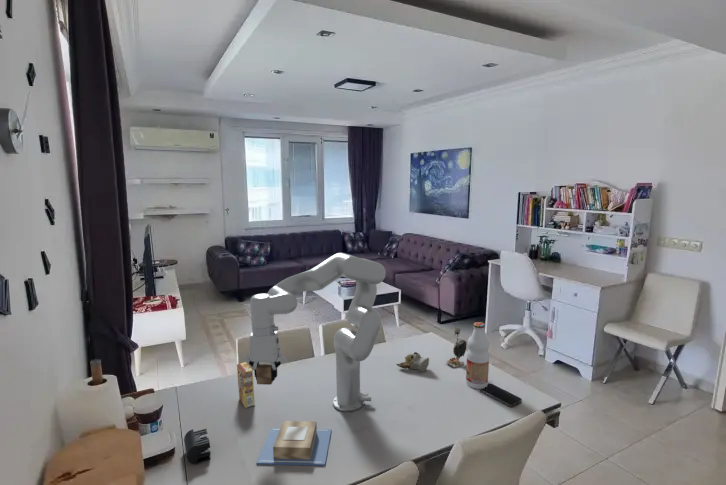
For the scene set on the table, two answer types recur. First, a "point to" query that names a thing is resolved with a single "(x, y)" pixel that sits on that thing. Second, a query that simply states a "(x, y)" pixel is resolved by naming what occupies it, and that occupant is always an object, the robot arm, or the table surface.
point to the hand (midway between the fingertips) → (266, 378)
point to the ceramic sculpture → (415, 362)
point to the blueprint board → (316, 459)
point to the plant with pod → (458, 350)
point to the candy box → (245, 384)
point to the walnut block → (264, 373)
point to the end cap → (197, 446)
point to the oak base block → (295, 440)
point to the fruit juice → (477, 358)
